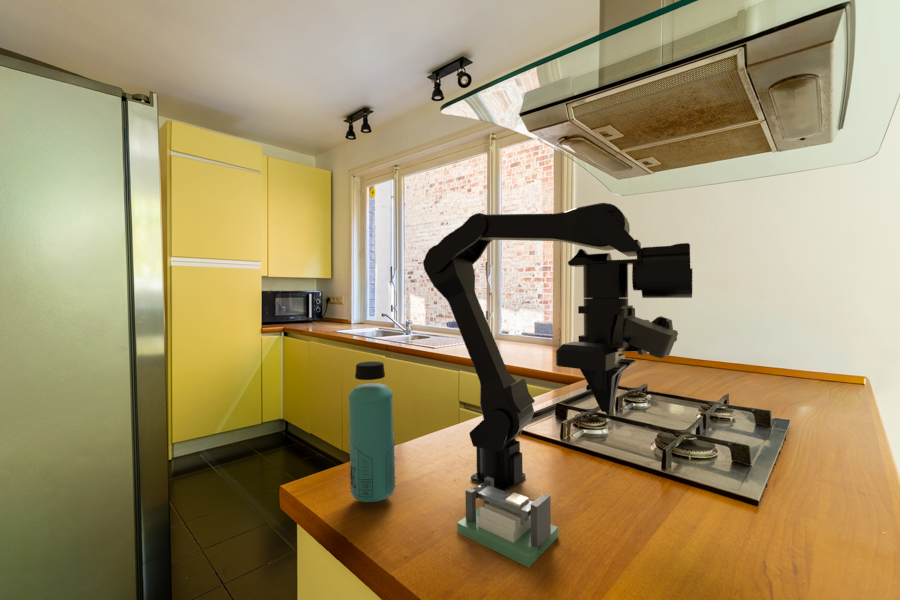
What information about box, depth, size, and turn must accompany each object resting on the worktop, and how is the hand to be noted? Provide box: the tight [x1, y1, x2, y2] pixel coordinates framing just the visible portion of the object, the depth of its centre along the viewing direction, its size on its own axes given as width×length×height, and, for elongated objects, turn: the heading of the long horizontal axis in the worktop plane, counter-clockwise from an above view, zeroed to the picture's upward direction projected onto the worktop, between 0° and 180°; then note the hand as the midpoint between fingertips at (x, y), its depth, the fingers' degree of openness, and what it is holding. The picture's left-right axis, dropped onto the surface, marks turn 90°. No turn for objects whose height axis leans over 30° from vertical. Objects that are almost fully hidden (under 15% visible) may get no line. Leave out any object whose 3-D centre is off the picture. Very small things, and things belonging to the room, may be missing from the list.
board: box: [456, 477, 559, 568], centre depth 49 cm, size 10×7×6 cm
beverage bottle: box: [347, 361, 397, 503], centre depth 57 cm, size 6×7×20 cm
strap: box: [473, 482, 533, 517], centre depth 49 cm, size 8×2×1 cm, turn 49°
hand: (606, 411), depth 55 cm, fingers closed
